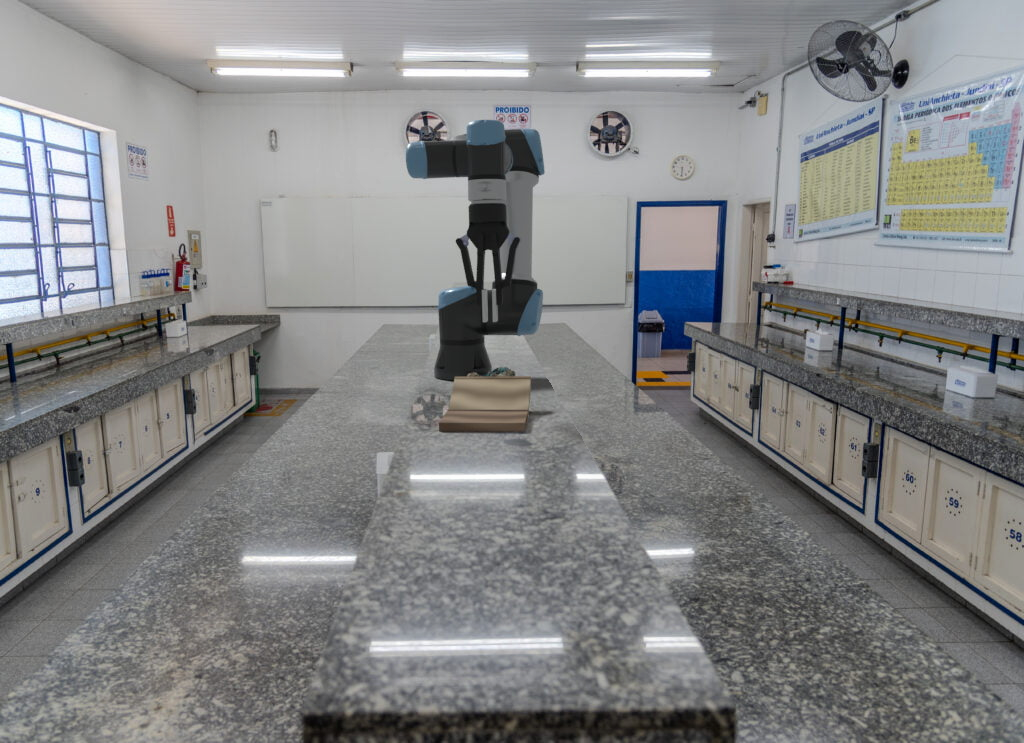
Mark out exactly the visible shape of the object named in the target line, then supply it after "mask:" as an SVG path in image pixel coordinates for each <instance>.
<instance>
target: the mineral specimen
mask: <svg viewBox="0 0 1024 743" xmlns="http://www.w3.org/2000/svg"><path fill="white" fill-rule="evenodd" d="M468 376H480V375H479V374H478V373H474V372H473V373H470V374H468V375H467V377H468ZM483 376H516V372H515V371H514V370H512V369H510V368H509V367H507V366H501V367H496V368H494V369H492V372H488V374H487V375H483Z"/></svg>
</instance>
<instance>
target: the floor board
mask: <svg viewBox="0 0 1024 743" xmlns="http://www.w3.org/2000/svg"><path fill="white" fill-rule="evenodd" d="M528 419H529V415H528V410H449V409H447V411H446V412H445V414H444V415H443V416H442V418H441V419H440V420H439V421H438V432H526V428H527V424H528V422H529V420H528Z"/></svg>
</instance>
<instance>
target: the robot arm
mask: <svg viewBox="0 0 1024 743" xmlns="http://www.w3.org/2000/svg"><path fill="white" fill-rule="evenodd" d="M542 147H543V146H542V140H541V136H540V132H539V131H538V130H536V129H535V128H522V127H521V128H516V129H515V128H513V129H511V128H510V129H505V124H504V123H503V122H502V121H500V120H496V119H476V120H472V121H470V122H468V123H467V125H466V133H464V134H459V135H456V136H453V137H451V138H450V139H446V140H430V141H427V140H426V141H423V140H420V141H413V142H409V144H408V145H407V146H406V148H405V149H406V150H405V166H406V170H407V173H408V175H409V176H410V177H411V178H412V179H422V180H427V179H444V178H445V179H448V178H467V198H468V201H469V202H471V203H470V204H469V205H468V228H467V230H466V234H464V235H462V236H460V237H458V238H456V239H455V243H456V245H457V247H458V249H459V250H460V256H461V261H462V264H463V270H464V274H465V279H466V284H467V285H464V286H458V287H453V288H447V289H443V290H442V291H440V292H439V294H438V303H437V304H438V305H437V306H438V307H437V310H438V328H439V330H438V331H439V350H438V353H437V356H436V359H435V360H436V361H435V363H434V368H433V371H434V377H435V378H436V379H440V380H448V381H454V379H455V377H467V375H468V374H470V373H473V372H474V373H478V374H479V375H480V376H483V375H487V374H488V372H492V371H493V365H492V363H491V360H490V357H489V354H488V350H487V348H486V345H485V336H518V337H521V336H531V335H535V333H537V331H538V330H539V327H540V323H541V320H542V319H541V318H542V311H543V300H544V291H543V290H542V289H540V288H538V281H537V280H535V278H534V277H533V276H532V274H533V273H532V272H533V271H532V270H533V268H532V267H533V206H534V205H533V201H534V200H533V199H534V196H533V195H534V194H533V193H534V192H533V190H534V188H535V187H536V185H538V184H539V181H540V180H539V179H540V176H543V175H545V173H546V172H545V162H544V155H543V148H542ZM469 240H470V242H471V243H472V244H473V246H474V247H475V248H476V256H477V258H476V280H475V277H474V272H473V268H472V261H471V257H470V252H469V248H468V246H469ZM486 251H491V255H492V263H493V274H494V280H493V281H492V282H491V284H492V286H491V289H488V288H485V286H484V284H485V281H484V280H485V258H486Z"/></svg>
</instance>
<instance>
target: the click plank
mask: <svg viewBox="0 0 1024 743" xmlns="http://www.w3.org/2000/svg"><path fill="white" fill-rule="evenodd" d="M531 386H532V376H530V375H529V376H522V375H521V376H516V375H515V376H468V377H455V379H454V380H453V385H452V390H451V395H450V401H449V405H448V406H449V407H448V410H528V416H529V415H530V414H529V413H530V402H531V401H530V400H531Z"/></svg>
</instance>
